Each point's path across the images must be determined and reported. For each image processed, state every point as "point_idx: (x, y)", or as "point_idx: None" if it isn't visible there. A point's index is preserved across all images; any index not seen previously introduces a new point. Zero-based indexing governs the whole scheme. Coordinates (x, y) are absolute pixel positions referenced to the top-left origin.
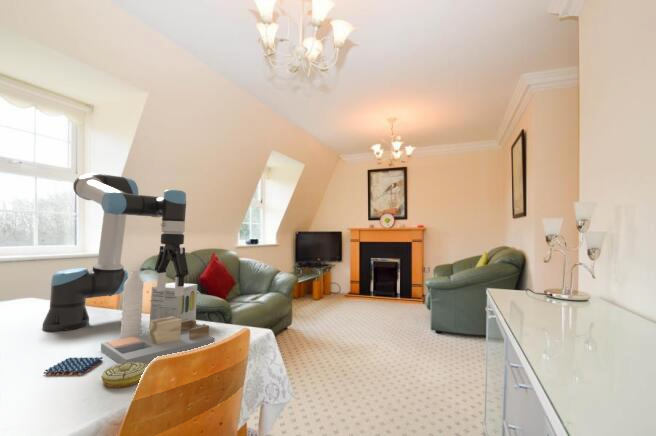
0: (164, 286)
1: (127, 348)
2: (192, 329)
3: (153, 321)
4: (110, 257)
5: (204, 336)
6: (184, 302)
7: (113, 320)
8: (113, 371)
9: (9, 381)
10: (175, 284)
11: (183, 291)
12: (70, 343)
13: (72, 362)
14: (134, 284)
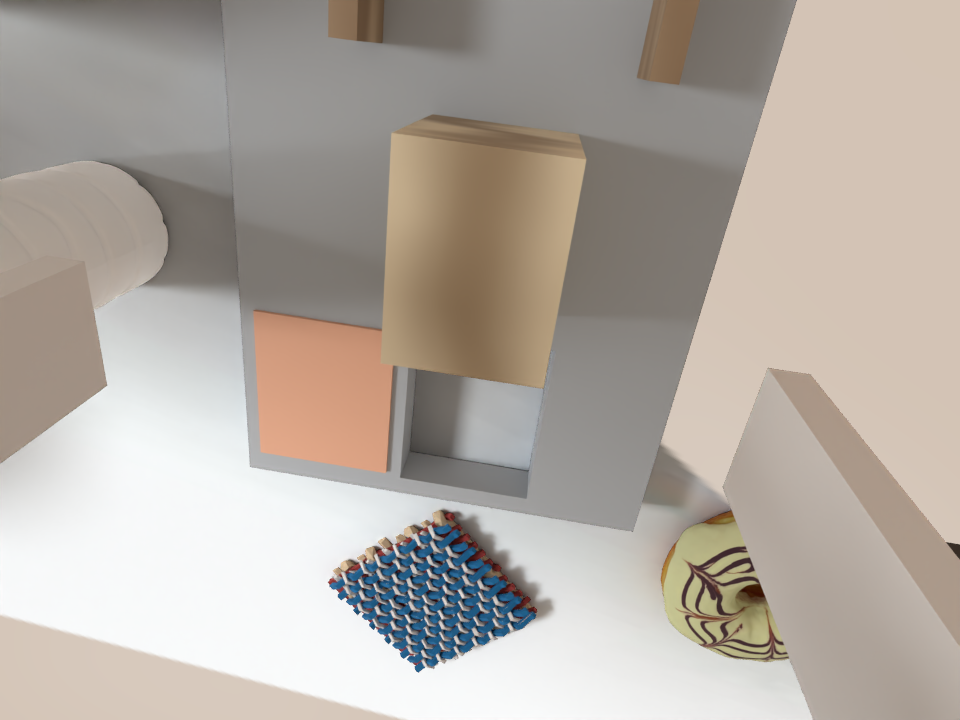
0: (28, 304)
1: (409, 406)
2: (681, 67)
3: (440, 370)
4: None
5: None
6: None
7: None
8: (756, 646)
9: (392, 710)
10: (803, 662)
11: (838, 413)
12: (39, 462)
13: (404, 602)
14: None
